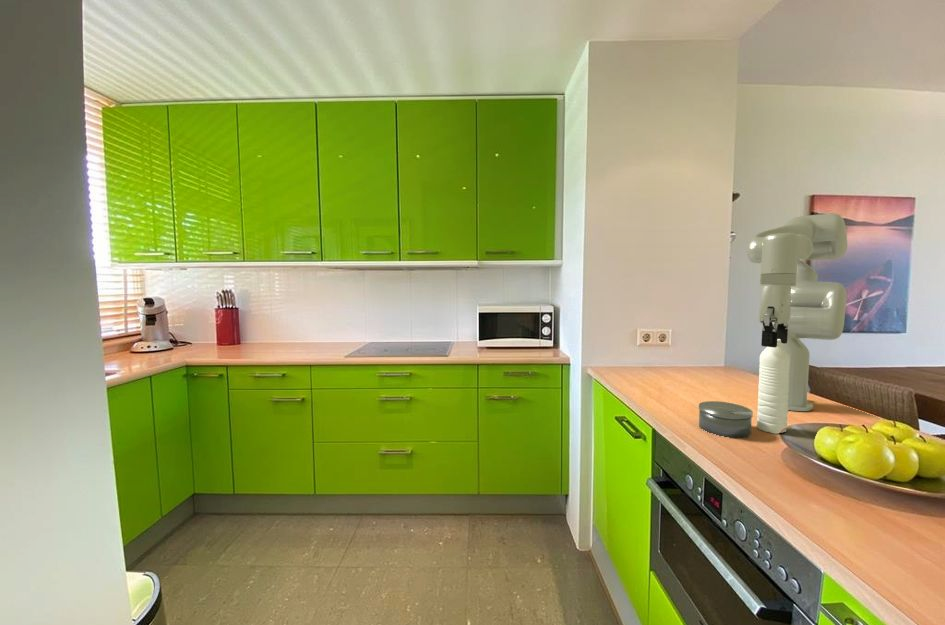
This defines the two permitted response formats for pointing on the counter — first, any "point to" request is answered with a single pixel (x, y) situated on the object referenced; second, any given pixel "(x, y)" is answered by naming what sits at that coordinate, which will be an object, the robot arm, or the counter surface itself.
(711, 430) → the cake tin
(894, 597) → the counter surface
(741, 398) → the counter surface
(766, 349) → the water bottle
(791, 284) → the robot arm
